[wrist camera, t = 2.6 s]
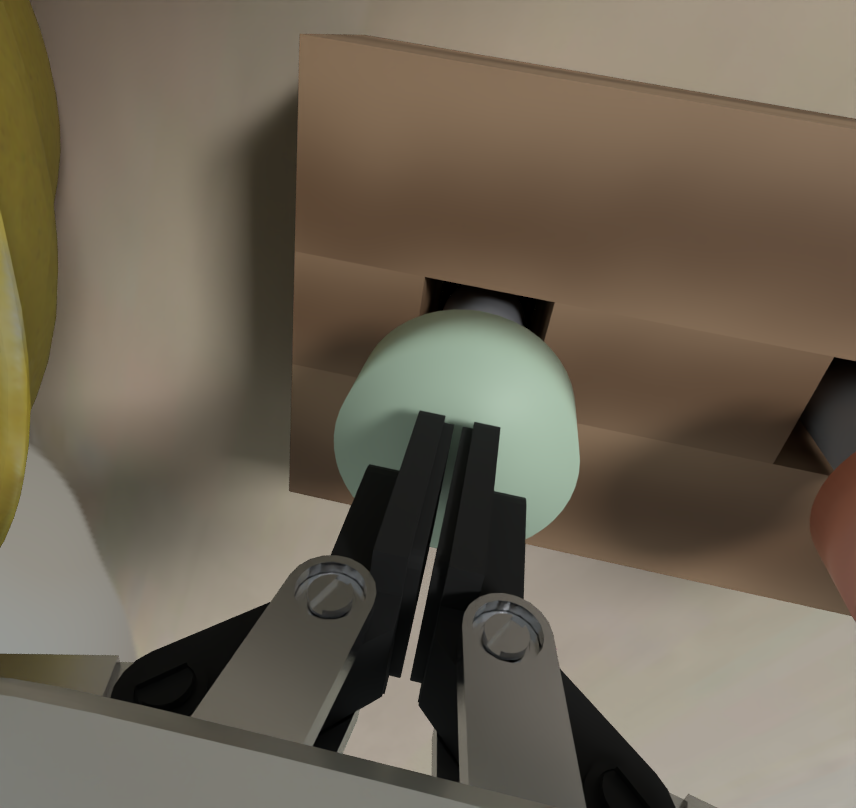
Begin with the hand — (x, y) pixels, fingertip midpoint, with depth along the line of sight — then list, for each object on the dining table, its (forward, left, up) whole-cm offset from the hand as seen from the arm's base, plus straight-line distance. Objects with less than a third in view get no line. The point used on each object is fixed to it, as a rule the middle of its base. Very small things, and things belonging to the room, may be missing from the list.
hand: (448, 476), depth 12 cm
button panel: (0, +6, -12) cm, 13 cm away
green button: (0, 0, -8) cm, 8 cm away
